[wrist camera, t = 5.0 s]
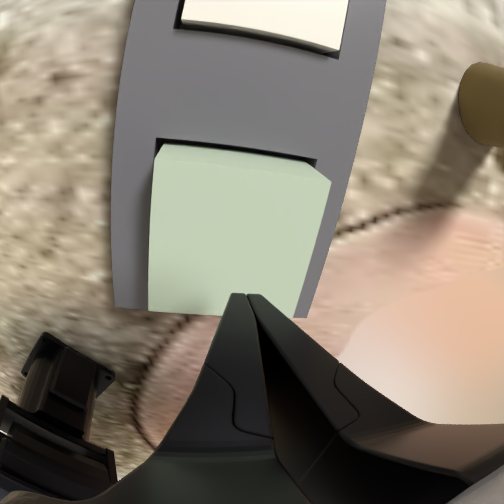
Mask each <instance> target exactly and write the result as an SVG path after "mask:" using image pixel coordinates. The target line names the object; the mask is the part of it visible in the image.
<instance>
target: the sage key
mask: <svg viewBox="0 0 504 504" xmlns="http://www.w3.org/2000/svg"><path fill="white" fill-rule="evenodd" d="M331 183H332V182H331V181H330V180H329V179H327V178H326V177H325V176H323V175H322V174H321V173H320V172H318V171H317V170H316V169H314V168H313V167H312V166H310V165H309V164H308V163H306V162H305V161H302V160H296V159H290V158H284V157H278V156H272V155H266V154H259V153H252V152H245V151H238V150H230V149H222V148H213V147H205V146H195V145H185V144H174V143H164V144H163V146H162V147H161V149H160V151H159V152H158V154H157V156H156V157H155V160H154V171H153V183H152V197H151V213H150V233H149V266H148V311H156V312H169V313H184V314H199V315H217V316H222V315H223V312H224V310H225V307H226V305H227V302H228V299H229V297H230V294H231V293H245V294H246V295H247V294H248V293H250V294H261V295H262V296H264V297H265V298H266V299H267V300H268V301H269V302H270V303H272V304H273V305H274V306H275V307H276V308H277V309H279V310H280V311H281V312H282V313H283V314H284V315H285V316H287V317H288V318H293V315H294V312H295V309H296V306H297V303H298V299H299V296H300V293H301V290H302V286H303V283H304V280H305V276H306V273H307V270H308V266H309V263H310V259H311V256H312V253H313V249H314V246H315V242H316V238H317V235H318V231H319V228H320V224H321V220H322V217H323V213H324V209H325V206H326V202H327V198H328V194H329V190H330V187H331Z"/></svg>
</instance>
